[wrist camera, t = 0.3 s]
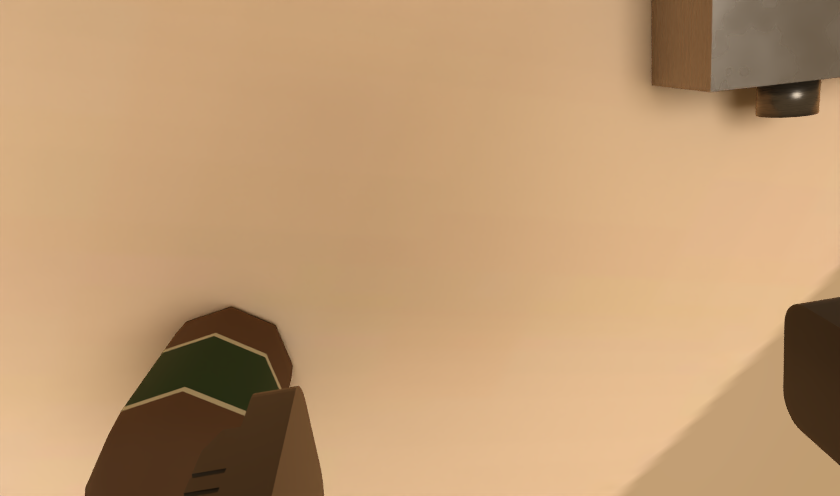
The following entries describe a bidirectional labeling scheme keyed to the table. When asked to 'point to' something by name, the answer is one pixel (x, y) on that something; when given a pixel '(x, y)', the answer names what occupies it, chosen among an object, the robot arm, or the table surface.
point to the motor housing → (749, 49)
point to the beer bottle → (189, 403)
